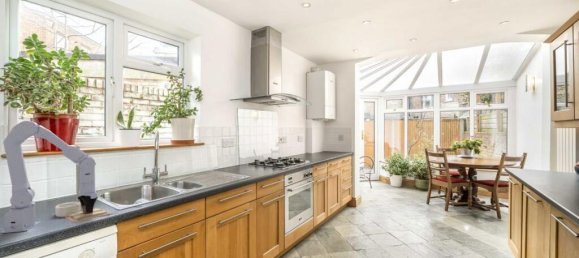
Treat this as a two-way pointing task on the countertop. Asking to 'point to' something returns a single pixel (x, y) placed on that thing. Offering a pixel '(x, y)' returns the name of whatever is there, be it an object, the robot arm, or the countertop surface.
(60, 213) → the bowl
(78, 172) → the paper towel roll
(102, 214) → the mat
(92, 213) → the lid
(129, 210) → the countertop surface
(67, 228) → the countertop surface
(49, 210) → the countertop surface
